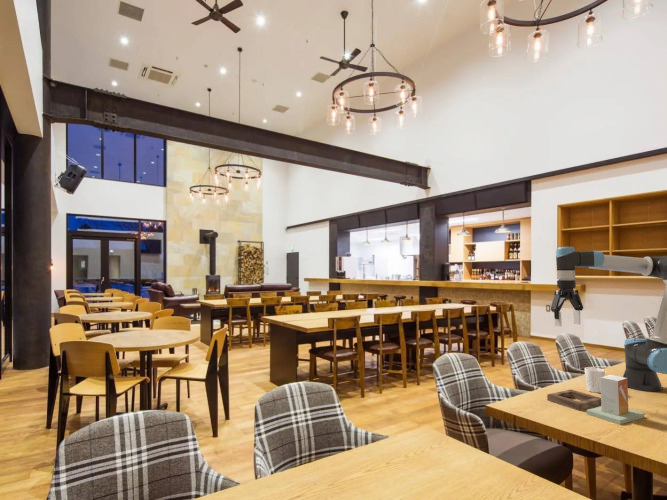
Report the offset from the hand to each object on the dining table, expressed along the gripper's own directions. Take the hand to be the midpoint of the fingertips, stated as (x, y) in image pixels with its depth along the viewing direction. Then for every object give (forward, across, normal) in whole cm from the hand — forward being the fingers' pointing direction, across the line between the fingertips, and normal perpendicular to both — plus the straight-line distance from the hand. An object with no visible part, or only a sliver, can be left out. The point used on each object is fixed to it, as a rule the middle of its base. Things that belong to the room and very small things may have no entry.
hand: (567, 325), depth 183 cm
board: (+31, +13, +26) cm, 43 cm away
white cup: (+31, -12, +4) cm, 33 cm away
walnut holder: (+31, +12, +10) cm, 34 cm away
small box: (+29, +13, +26) cm, 42 cm away
